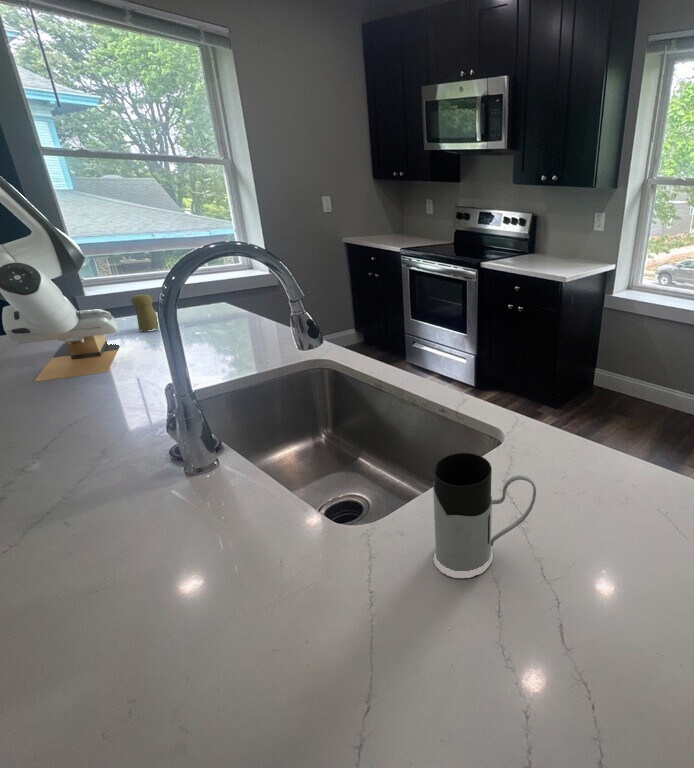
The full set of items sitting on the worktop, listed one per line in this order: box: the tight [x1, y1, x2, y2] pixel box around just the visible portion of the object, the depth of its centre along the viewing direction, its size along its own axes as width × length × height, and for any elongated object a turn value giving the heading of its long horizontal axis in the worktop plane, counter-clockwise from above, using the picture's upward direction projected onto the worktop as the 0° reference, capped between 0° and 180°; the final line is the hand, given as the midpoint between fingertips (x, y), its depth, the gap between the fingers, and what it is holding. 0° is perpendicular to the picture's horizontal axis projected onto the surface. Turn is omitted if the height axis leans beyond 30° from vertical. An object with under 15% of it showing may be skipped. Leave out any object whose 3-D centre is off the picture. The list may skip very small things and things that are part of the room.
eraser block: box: [65, 335, 108, 359], centre depth 128 cm, size 6×10×8 cm, turn 30°
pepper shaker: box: [131, 293, 158, 331], centre depth 145 cm, size 6×6×11 cm
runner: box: [32, 342, 121, 383], centre depth 126 cm, size 14×29×1 cm, turn 30°
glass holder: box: [432, 452, 537, 571], centre depth 64 cm, size 9×14×15 cm, turn 93°
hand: (76, 341), depth 122 cm, fingers closed, pressing on eraser block
